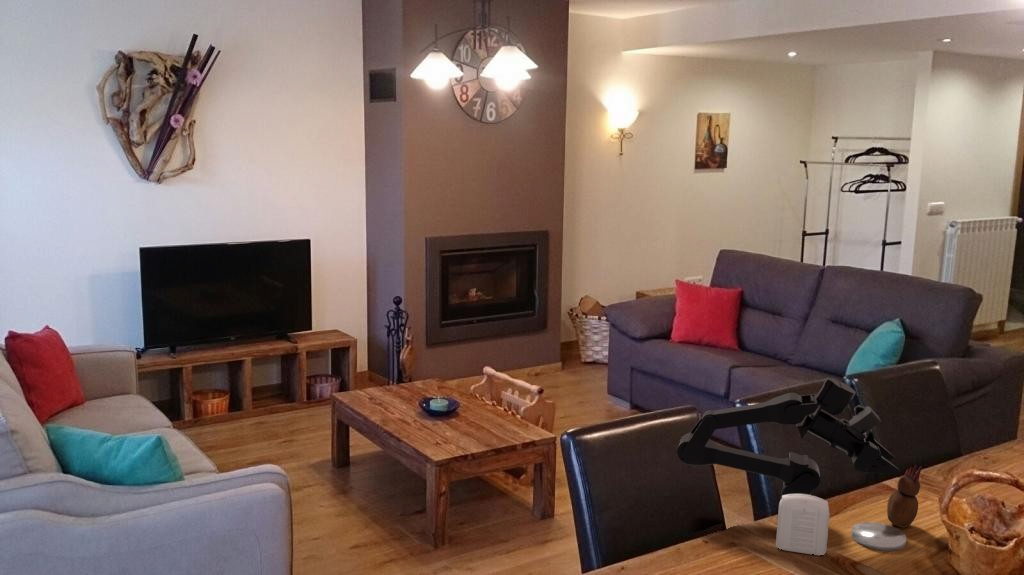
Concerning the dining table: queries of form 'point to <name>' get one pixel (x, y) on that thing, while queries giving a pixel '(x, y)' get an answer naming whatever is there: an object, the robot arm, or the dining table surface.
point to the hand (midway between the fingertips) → (896, 465)
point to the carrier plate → (878, 536)
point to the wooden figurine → (904, 499)
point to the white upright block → (803, 524)
